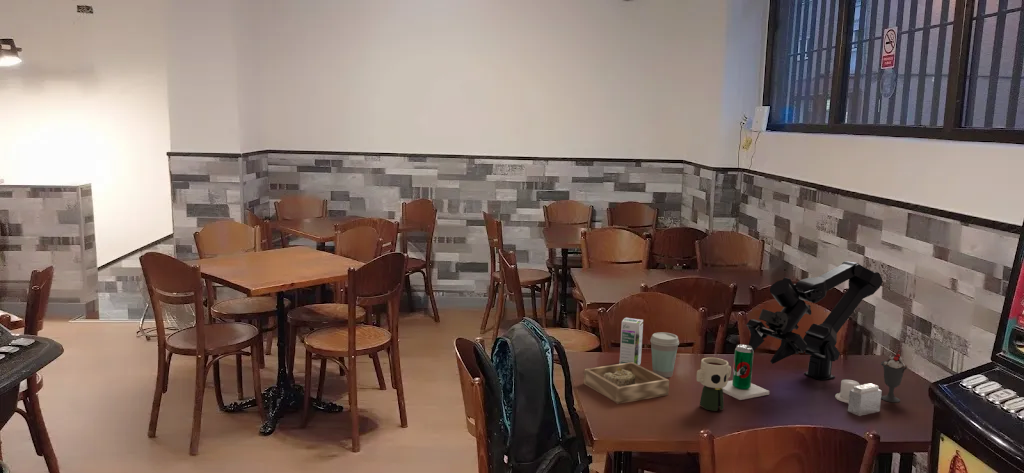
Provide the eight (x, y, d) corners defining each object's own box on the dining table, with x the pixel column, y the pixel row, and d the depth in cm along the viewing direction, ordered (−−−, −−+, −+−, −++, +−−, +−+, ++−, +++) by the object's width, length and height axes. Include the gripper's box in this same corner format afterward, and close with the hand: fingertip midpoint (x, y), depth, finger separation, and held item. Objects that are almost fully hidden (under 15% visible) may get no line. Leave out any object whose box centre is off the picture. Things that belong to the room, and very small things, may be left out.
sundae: (893, 405, 208) (899, 352, 206) (872, 397, 214) (877, 345, 212) (909, 401, 211) (915, 349, 209) (887, 393, 217) (893, 343, 215)
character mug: (703, 415, 197) (706, 367, 195) (686, 406, 203) (689, 359, 201) (736, 410, 201) (740, 363, 199) (719, 401, 208) (723, 355, 206)
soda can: (754, 389, 215) (757, 348, 213) (740, 391, 213) (743, 350, 211) (742, 383, 219) (745, 343, 217) (728, 385, 217) (731, 345, 215)
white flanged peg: (846, 393, 217) (848, 376, 216) (867, 401, 211) (869, 384, 210) (829, 397, 214) (831, 380, 213) (850, 405, 208) (852, 388, 207)
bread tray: (631, 375, 226) (632, 361, 225) (668, 394, 211) (669, 380, 210) (583, 383, 218) (584, 369, 218) (617, 403, 203) (618, 388, 203)
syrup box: (618, 366, 234) (621, 320, 232) (623, 361, 240) (625, 316, 237) (636, 369, 232) (639, 323, 230) (641, 363, 238) (643, 318, 235)
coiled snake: (642, 387, 217) (644, 369, 215) (623, 396, 209) (625, 378, 208) (613, 375, 223) (615, 358, 222) (594, 384, 216) (595, 366, 214)
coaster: (741, 382, 223) (741, 378, 223) (769, 394, 214) (769, 391, 214) (712, 387, 218) (712, 383, 218) (739, 400, 209) (740, 396, 209)
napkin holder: (867, 407, 207) (870, 382, 206) (879, 411, 204) (882, 386, 202) (847, 411, 203) (850, 386, 202) (859, 416, 200) (861, 390, 199)
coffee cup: (677, 380, 223) (679, 341, 221) (647, 377, 225) (650, 338, 223) (676, 371, 231) (679, 333, 230) (648, 368, 233) (650, 330, 231)
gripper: (752, 292, 225) (722, 332, 222) (802, 307, 209) (770, 350, 206) (770, 315, 230) (741, 354, 227) (820, 331, 214) (789, 374, 211)
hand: (759, 358), depth 218 cm, fingers open, 9 cm apart
